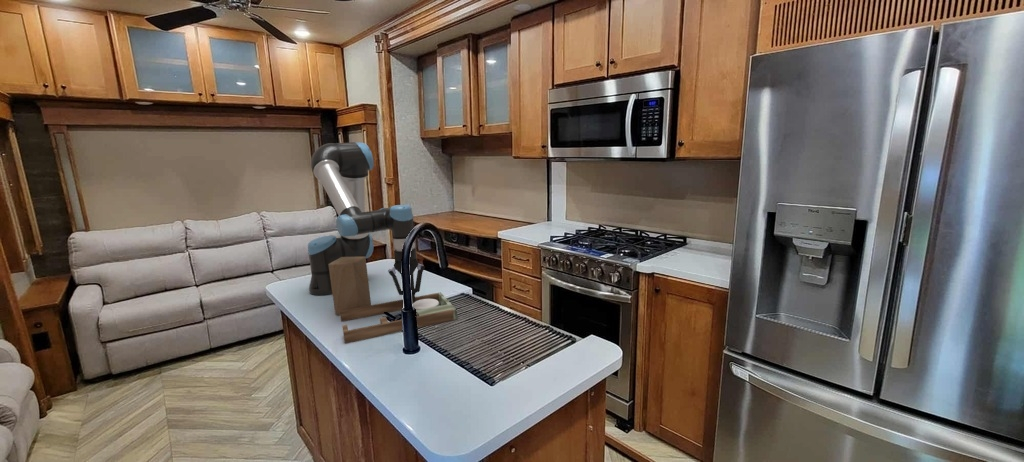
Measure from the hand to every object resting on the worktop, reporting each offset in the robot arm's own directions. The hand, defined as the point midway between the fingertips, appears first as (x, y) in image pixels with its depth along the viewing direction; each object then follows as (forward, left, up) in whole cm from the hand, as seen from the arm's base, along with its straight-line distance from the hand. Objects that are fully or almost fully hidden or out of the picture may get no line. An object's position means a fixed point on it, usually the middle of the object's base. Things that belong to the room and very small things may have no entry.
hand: (410, 311), depth 155 cm
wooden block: (-17, -18, -2) cm, 25 cm away
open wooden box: (+2, -5, -2) cm, 6 cm away
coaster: (-1, +6, -2) cm, 6 cm away
